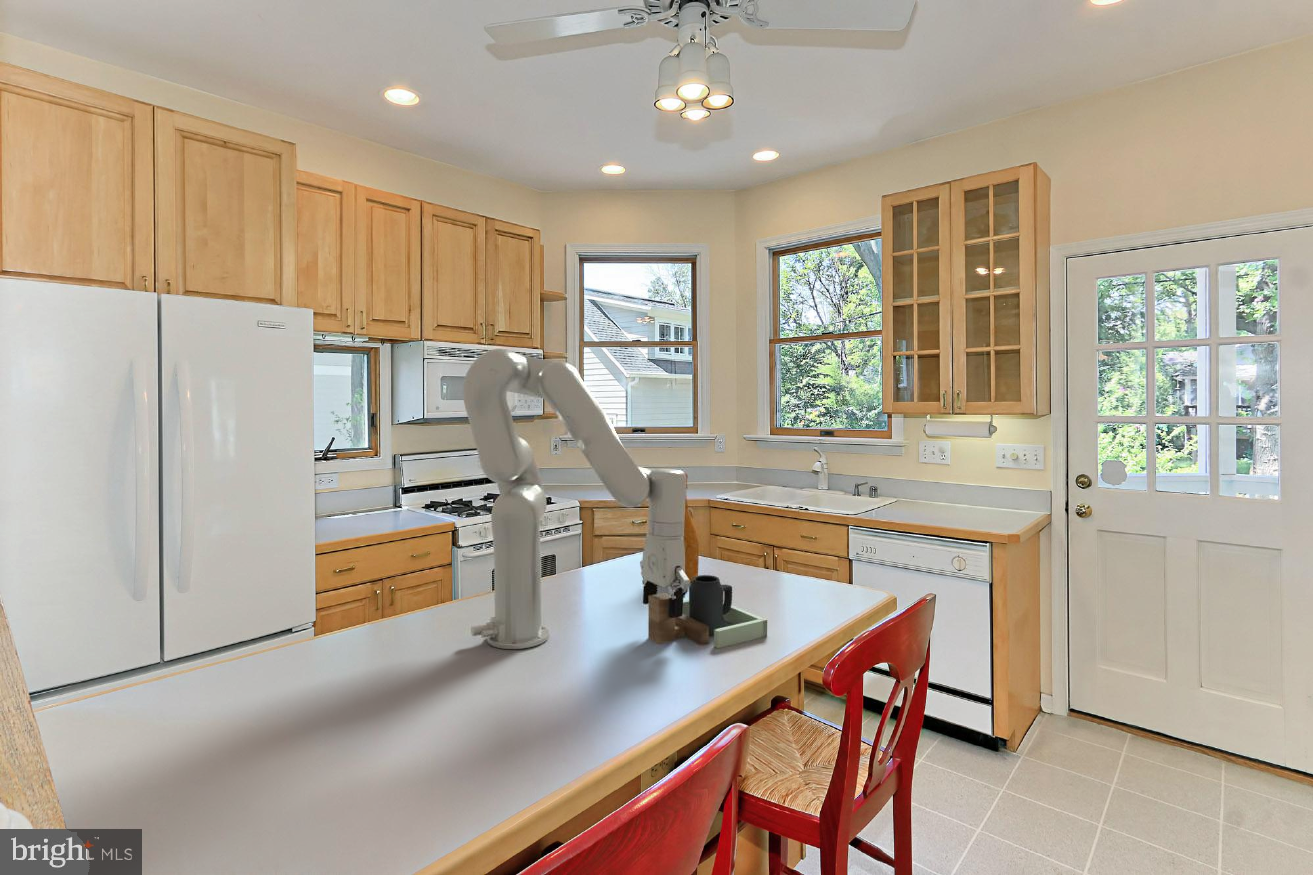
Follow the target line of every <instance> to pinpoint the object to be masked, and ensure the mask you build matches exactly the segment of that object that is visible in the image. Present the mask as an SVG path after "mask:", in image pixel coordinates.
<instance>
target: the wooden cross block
mask: <svg viewBox="0 0 1313 875" xmlns="http://www.w3.org/2000/svg"><path fill="white" fill-rule="evenodd" d="M669 598H671V596H670V594H668V593H666V592H662V593H657V594H655V595H650V596H649V604H648V621H647V622H648V626H647V627H648V628H647V629H648V639H650V640H651V641H653V642H654V643H656V644H659V645H660V644H665V643H668V642H675V641H676V639H679V638H687V639H689V640H690V641H692V642H694V643H696V644H698V645H700V646H703V645H707V644H709V643H710V637H709V626H707V625H705V624H703V623H701V622H699V621H696V620H694V619H692V618H690V617H689V616H686V615H684V614H682V616H681V617H675V618H669V617H668V605H669Z"/></svg>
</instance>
